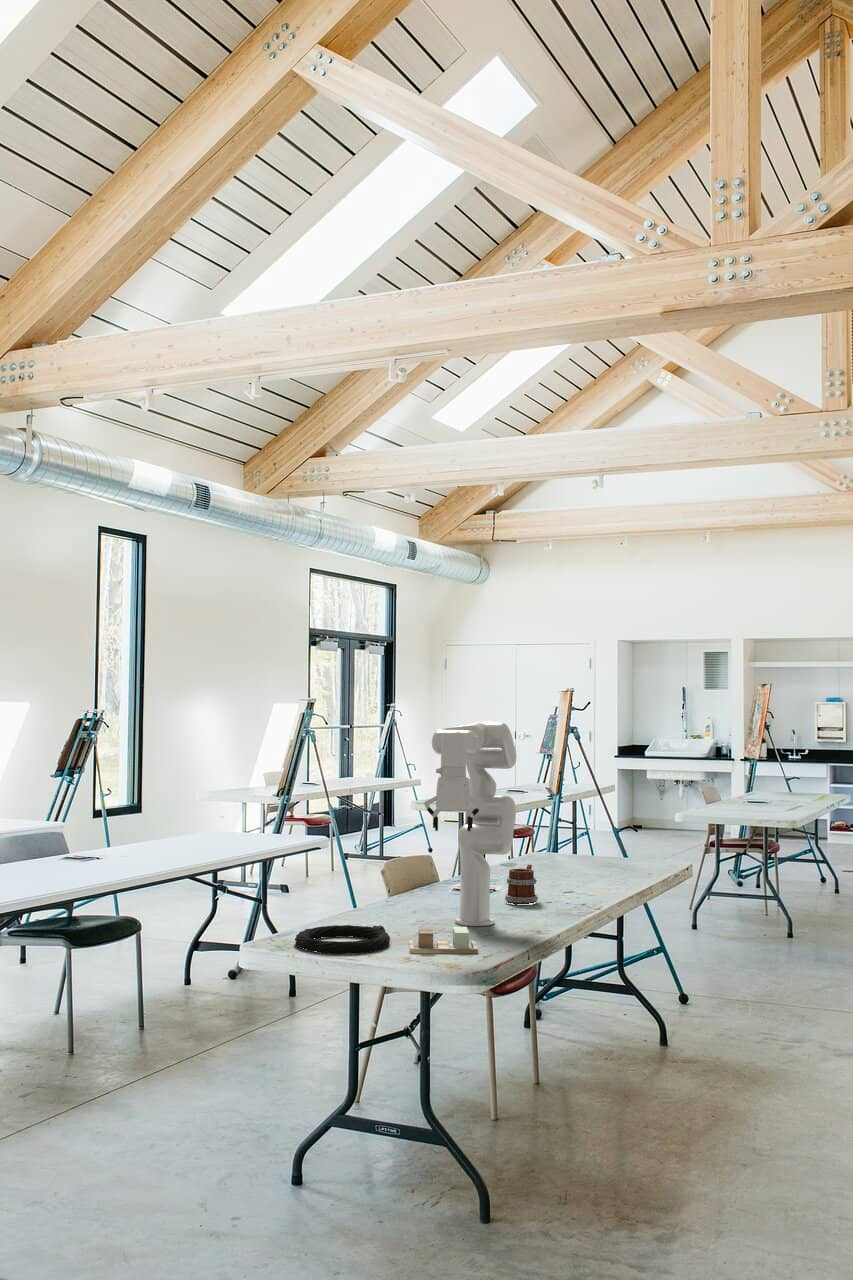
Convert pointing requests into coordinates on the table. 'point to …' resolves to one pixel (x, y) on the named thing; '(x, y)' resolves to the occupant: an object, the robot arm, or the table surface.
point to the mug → (521, 886)
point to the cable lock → (374, 933)
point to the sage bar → (460, 937)
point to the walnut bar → (425, 937)
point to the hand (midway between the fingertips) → (452, 830)
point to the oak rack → (443, 948)
